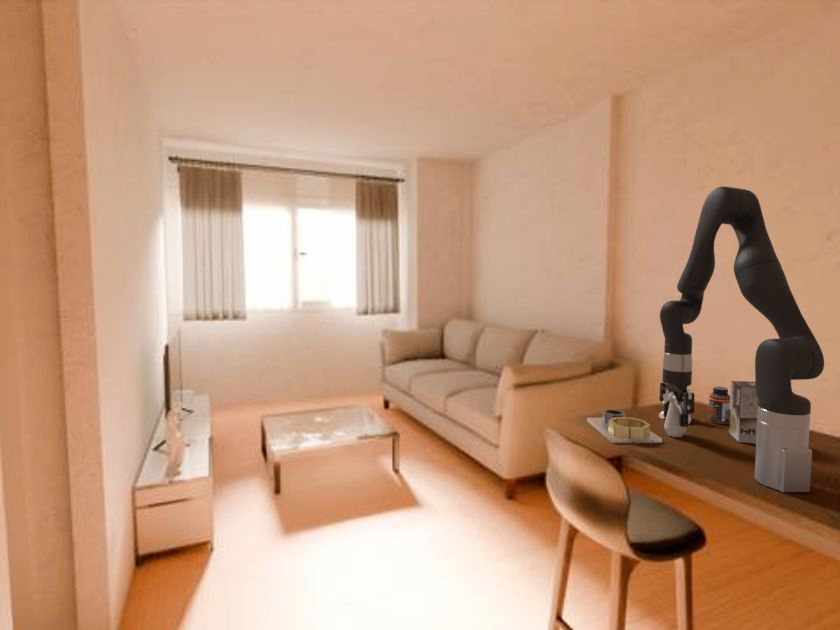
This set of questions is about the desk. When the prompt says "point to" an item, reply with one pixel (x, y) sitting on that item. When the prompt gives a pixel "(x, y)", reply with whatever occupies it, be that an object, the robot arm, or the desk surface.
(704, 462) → the desk surface
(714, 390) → the supplement bottle
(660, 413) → the sitting furry creature
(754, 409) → the coffee box
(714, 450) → the desk surface
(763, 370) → the robot arm
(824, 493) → the desk surface
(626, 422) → the fitting plate
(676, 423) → the salt shaker
